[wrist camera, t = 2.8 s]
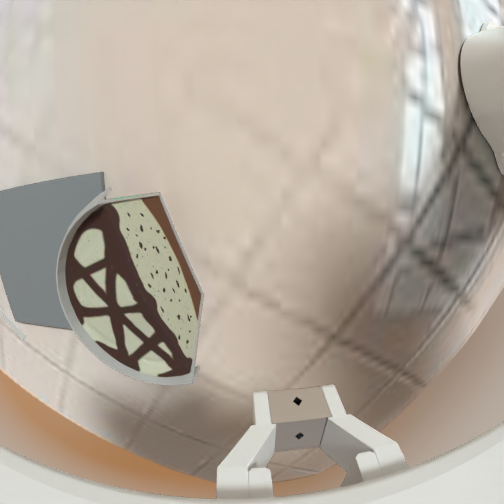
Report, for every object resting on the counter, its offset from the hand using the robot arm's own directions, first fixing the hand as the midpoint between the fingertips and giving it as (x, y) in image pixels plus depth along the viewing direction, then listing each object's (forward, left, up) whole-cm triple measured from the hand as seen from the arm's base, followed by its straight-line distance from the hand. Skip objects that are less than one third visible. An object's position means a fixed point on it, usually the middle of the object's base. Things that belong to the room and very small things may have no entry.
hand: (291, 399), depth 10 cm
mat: (+21, 0, -15) cm, 26 cm away
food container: (+10, 0, -15) cm, 18 cm away
